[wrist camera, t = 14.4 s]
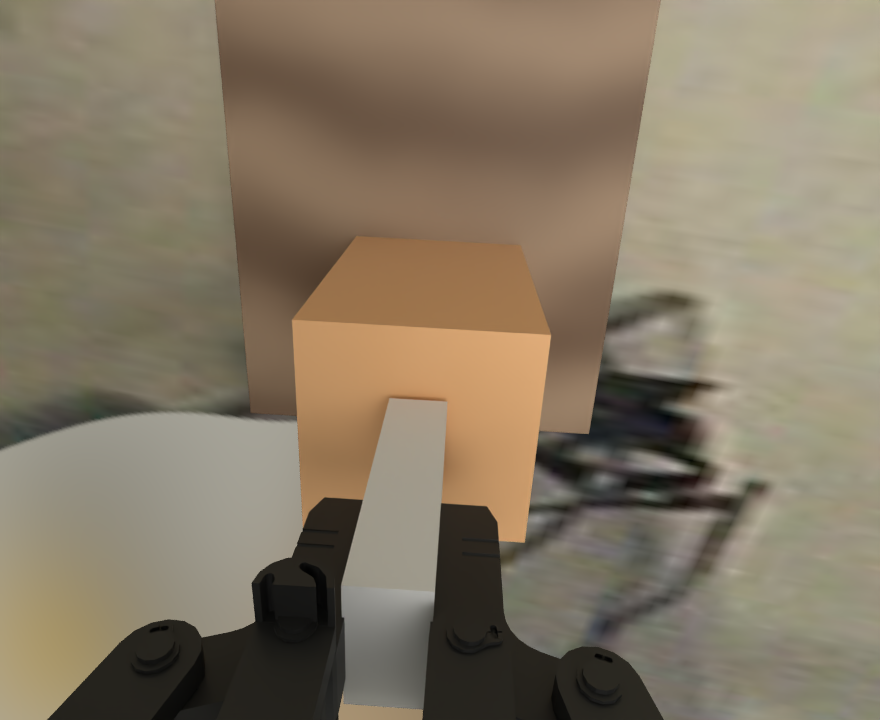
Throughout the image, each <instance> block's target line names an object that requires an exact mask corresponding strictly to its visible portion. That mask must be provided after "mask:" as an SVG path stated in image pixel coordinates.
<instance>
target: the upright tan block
mask: <svg viewBox="0 0 880 720" xmlns="http://www.w3.org/2000/svg"><path fill="white" fill-rule="evenodd" d="M292 329H293V348H294V367H295V386H296V405H297V424H298V441H299V461H300V480H301V497H302V517H303V527H304V524H305V521H306V519H307V516H308V514H309V511H310V510H311V509H313V508H314V507H315V506H316V505H317V504H318V503H319V502H320V501H321V500H322V499H323V498H324V497H328V498H344V499H359V500H363V499H364V495H365V491H366V487H367V483H368V479H369V475H370V471H371V468H372V464H373V460H374V456H375V452H376V448H377V444H378V440H379V437H380V433H381V429H382V425H383V421H384V417H385V413H386V410H387V406H388V402H389V398H397V399H413V400H430V401H446V402H448V403H447V420H446V437H445V454H444V471H443V489H442V503H445V504H461V505H476V506H487V507H488V509H489V510H490V512H491V513H492V515H493V516H494V518H495V519H496V521H497V522H498V535H499V541H509V542H524V543H525V535H526V527H527V520H528V512H529V504H530V496H531V488H532V481H533V473H534V465H535V457H536V449H537V442H538V434H539V426H540V418H541V410H542V403H543V395H544V387H545V379H546V371H547V364H548V356H549V348H550V340H551V333H550V330H549V327H548V324H547V321H546V318H545V315H544V312H543V310H542V307H541V304H540V301H539V298H538V295H537V292H536V289H535V286H534V283H533V280H532V277H531V274H530V271H529V268H528V265H527V263H526V260H525V257H524V254H523V251H522V248H521V245H507V244H489V243H471V242H454V241H436V240H418V239H400V238H382V237H364V236H356V237H355V239H354V240H353V241H352V243H351V244H350V245H349V246H348V248H347V249H346V250H345V252H344V253H343V254H342V256H341V257H340V258H339V259H338V261H337V262H336V263H335V265H334V266H333V267H332V269H331V270H330V271H329V272H328V274H327V275H326V276H325V278H324V279H323V280H322V282H321V283H320V284H319V285H318V287H317V288H316V289H315V291H314V292H313V293H312V294H311V296H310V297H309V298H308V300H307V301H306V302H305V304H304V305H303V306H302V307H301V309H300V310H299V311H298V313H297V314H296V315H295V317H294V318H293V319H292Z"/></svg>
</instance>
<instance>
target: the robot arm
mask: <svg viewBox="0 0 880 720" xmlns="http://www.w3.org/2000/svg"><path fill="white" fill-rule="evenodd" d="M447 403H448V402H446V401H430V400H413V399H397V398H389V402H388V406H387V410H386V413H385V417H384V421H383V425H382V429H381V433H380V437H379V440H378V444H377V448H376V452H375V456H374V460H373V464H372V468H371V471H370V475H369V479H368V483H367V487H366V491H365V495H364V499H363V500H359V499H344V498H328V497H324V498H323V499H322V500H321V501H320V502H319V503H318V504H317V505H316V506H315V507H314V508H313V509H311V510H310V511H309V514H308V516H307V519H306V521H305V524H304V527H303V532H301V535H300V537H299V540H298V543H297V547H296V548H295V550H294V553H293V556H292V558H286V559H283V560H280V561H277V562H274V563H272V564H270V565H269V566H267V567H266V568H265V569H263V570H262V571H260V572H259V574H258V575H257V576H256V578H255V579H254V581H253V582H252V592H253V602H254V611H255V622H254V623H252V624H250V625H248V626H246V627H244V628H242V629H239V630H235V631H232V632H228V633H223V634H218V635H213V636H208V637H203V638H202V637H201V636H200V634H199V632H198V631H197V629H196V628H195V627H194V626H192V625H190V624H188V623H187V622H185V621H178V620H164V621H158V622H153V623H150V624H148V625H146V626H144V627H141V628H140V629H137V630H135V631H134V632H132V633H131V634H130V635H129V636H127V637H126V638H125V639H124V640H123V641H121V643H119V644H118V645H117V647H115V649H114V650H113V651H112V652H111V653H110V654H109V655H108V656H107V657H106V658H105V659H104V660H103V661H102V662H101V663H100V664H99V665H98V667H97V668H96V669H95V670H94V671H93V672H92V673H91V674H90V675H89V676H88V677H87V678H86V679H85V681H83V682H82V684H81V685H80V686H79V687H78V688H77V689H76V690H75V691H74V692H73V693H72V694H71V695H70V696H69V697H68V698H67V699H66V701H65V702H64V703H63V704H62V705H61V706H60V707H59V708H58V709H57V710H56V711H55V712H54V713H53V714H52V715H51V716H50V717H49V718H48V720H338V712H339V708H340V703H341V698H342V694H343V692H344V704H355V705H368V706H382V707H397V708H410V709H423V720H664V719H663V717H662V716H661V714H660V712H659V710H658V708H657V707H656V705H655V703H654V701H653V700H652V698H651V696H650V694H649V692H648V691H647V689H646V687H645V685H644V684H643V682H642V680H641V678H640V676H639V675H638V674H637V673H636V671H635V670H634V669H633V668H632V666H631V665H630V664H629V663H628V662H627V661H625V660H624V659H622V658H621V657H620V656H618V655H617V654H615V653H613V652H611V651H608V650H605V649H602V648H599V647H579V648H576V649H574V650H571V651H568V652H567V653H566V654H565V655H564V656H563V657H562V658H561V659H559V658H556V657H553V656H550V655H547V654H545V653H542V652H539V651H537V650H535V649H533V648H531V647H529V646H527V645H526V644H525V643H523V642H522V641H520V640H519V639H518V638H517V637H516V636H515V635H514V634H513V632H512V631H511V630H510V628H509V626H508V624H507V623H506V620H505V616H504V609H503V594H502V580H501V565H500V550H499V535H498V522H497V521H496V519H495V518H494V516H493V515H492V513H491V512H490V510H489V509H488V507H487V506H476V505H461V504H445V503H442V489H443V471H444V454H445V437H446V420H447Z"/></svg>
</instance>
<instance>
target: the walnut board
mask: <svg viewBox="0 0 880 720" xmlns="http://www.w3.org/2000/svg"><path fill="white" fill-rule="evenodd" d="M660 1H661V0H215V9H216V20H217V32H218V43H219V55H220V66H221V78H222V89H223V100H224V112H225V123H226V135H227V146H228V158H229V169H230V180H231V192H232V203H233V215H234V226H235V238H236V249H237V261H238V272H239V283H240V295H241V306H242V318H243V329H244V341H245V352H246V364H247V375H248V386H249V398H250V409H251V413H259V414H275V415H291V416H297V405H296V386H295V367H294V348H293V329H292V319H293V318H294V317H295V315H296V314H297V313H298V311H299V310H300V309H301V307H302V306H303V305H304V304H305V302H306V301H307V300H308V298H309V297H310V296H311V294H312V293H313V292H314V291H315V289H316V288H317V287H318V285H319V284H320V283H321V282H322V280H323V279H324V278H325V276H326V275H327V274H328V272H329V271H330V270H331V269H332V267H333V266H334V265H335V263H336V262H337V261H338V259H339V258H340V257H341V256H342V254H343V253H344V252H345V250H346V249H347V248H348V246H349V245H350V244H351V243H352V241H353V240H354V239H355V237H356V236H364V237H382V238H400V239H418V240H436V241H454V242H471V243H489V244H507V245H521V248H522V251H523V254H524V257H525V260H526V263H527V265H528V268H529V271H530V274H531V277H532V280H533V283H534V286H535V289H536V292H537V295H538V298H539V301H540V304H541V307H542V310H543V312H544V315H545V318H546V321H547V324H548V327H549V330H550V333H551V340H550V348H549V356H548V364H547V371H546V379H545V387H544V395H543V403H542V410H541V418H540V426H539V431H550V432H566V433H582V434H589V429H590V423H591V417H592V411H593V405H594V399H595V393H596V387H597V381H598V375H599V369H600V363H601V357H602V351H603V344H604V338H605V332H606V326H607V320H608V314H609V308H610V302H611V296H612V290H613V284H614V278H615V272H616V266H617V260H618V254H619V248H620V242H621V236H622V230H623V224H624V218H625V212H626V206H627V200H628V194H629V188H630V182H631V176H632V170H633V164H634V158H635V152H636V146H637V140H638V134H639V128H640V122H641V116H642V110H643V104H644V98H645V92H646V86H647V80H648V74H649V68H650V62H651V56H652V50H653V44H654V38H655V32H656V26H657V20H658V13H659V7H660Z"/></svg>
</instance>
